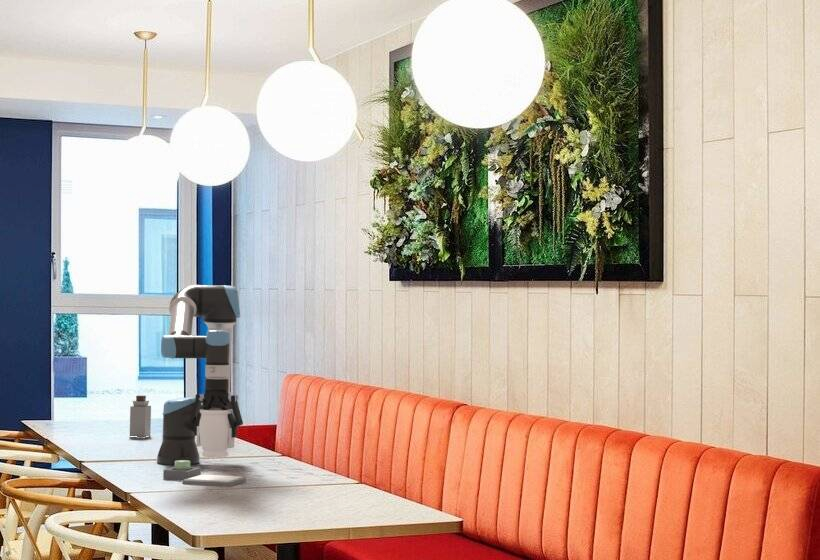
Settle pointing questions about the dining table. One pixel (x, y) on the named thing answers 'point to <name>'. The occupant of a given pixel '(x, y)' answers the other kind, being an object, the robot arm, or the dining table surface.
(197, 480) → the board
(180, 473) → the button housing
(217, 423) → the jar
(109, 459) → the dining table surface
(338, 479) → the dining table surface
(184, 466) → the button
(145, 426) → the perfume bottle
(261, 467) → the dining table surface
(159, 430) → the dining table surface
